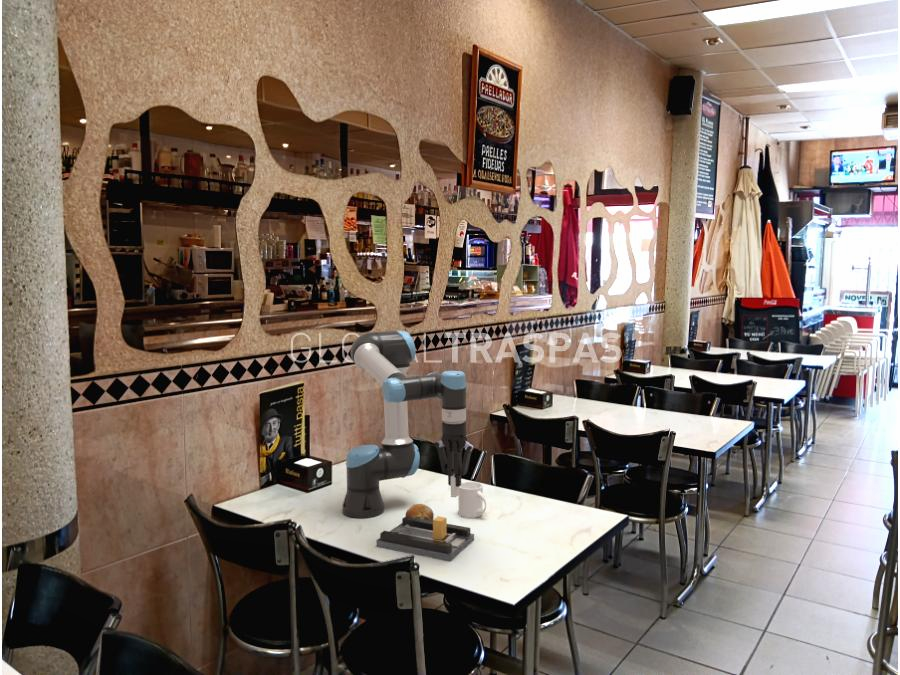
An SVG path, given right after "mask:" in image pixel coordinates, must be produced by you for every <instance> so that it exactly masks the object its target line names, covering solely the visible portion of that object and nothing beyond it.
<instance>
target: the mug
mask: <svg viewBox="0 0 900 675" xmlns="http://www.w3.org/2000/svg"><path fill="white" fill-rule="evenodd" d="M483 492H484V490H483V483H481V482H477V481H463V482H461V486H459V495H458V514H459V516H460V517H462V518H465V519H476V517H477V518H480V517H481V516H482V515H483V514H484V513H485V512H486V510H487V509H486V508H487V500H486V497H485V495H484V494H483ZM483 504H484V508H483Z"/></svg>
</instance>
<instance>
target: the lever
mask: <svg viewBox="0 0 900 675" xmlns="http://www.w3.org/2000/svg"><path fill="white" fill-rule="evenodd" d="M447 520H448V519H447V517H444V516H437V517H435V518H434V519H433V539H436V540H441V541H444V540H445V539H446V538H447V524H448V523H447Z"/></svg>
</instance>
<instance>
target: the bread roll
mask: <svg viewBox="0 0 900 675" xmlns="http://www.w3.org/2000/svg"><path fill="white" fill-rule="evenodd" d="M405 516H407V517H413V518H418V519H424V520H429V521H433V520H434V519H435V518H434V516H435V514H434V511H433V510H432V508H431V507H430V506H428V505H426V504H424V503H413V505H412V506H410V507H409V508H408V509H406V512H405Z"/></svg>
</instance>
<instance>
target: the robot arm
mask: <svg viewBox="0 0 900 675" xmlns="http://www.w3.org/2000/svg"><path fill="white" fill-rule="evenodd" d="M414 342H415V341H414V339H413V337H412V336H411V334H410V333H409V332H408V331H405V330H391V331H374V332H373V331H371V332H370V331H369V332H366V333H363V334H360V335H359V336H358V337H356V339H355V340H354V341H353V343H352V345H351V347H350V356H351V357H350V358H351V360H352V362H353V363H354V364H355V365H356V366H357V367H358V368H359V369H362V370H365V371H366V372H367V373H368V374H370V375H371V377H372V378H373V379H375V381H377V382H378V383H379V384H380V386H382V388H381V389H382V390H381V391H382V396H383V408H384V411H383V413H384V415H383V416H384V435H385V436H384V438H383V440H382V441H381V447H379V445H376V444H362V445H358V446H355V447H353V448H351V449H350V450H348V451H347V453H346V462H345V465H346V493H345V496H344V500H343V502H342V509H341V510H342V514H343V515H345V516H346V517H348V518H349V517H350V518H355V519H366V518H367V519H368V518H373V517H376V516H380V515H382V514H383V513H384V512H385V501H384V500H383V496H382V493H381V490H380V482H381V481H387V480H393V479H399V478H402V479H403V478H406V477H412V476H414V475H415V474H416V473H417V471H418V469H419V466H420V458H421V457H420V451H419V448H418V447H419V446H417V445H416V444H415V443H414V440H413V439H412V438H411V437H410V436H409V412H408V402H413V401H419V400H420V401H421V400H431V399H439V400H441V421H442V422H441V434H442V435H441V437H440V440H438V441H436V442H434V446H435V448H436V450H437V454H438V459H439V462H440V467H441V472H442V473H443V474H446V476H447V481H448V482H447V484H448V486H449V487H450V497H451V498H457V497H459V486H461V483H462V476H465V475H466V474H467V473H468V469H469V465H470V462H471V461H470V459H471V456H472V452H473V450H474V448H475V444H471V443H470V442H468V437H467V422H466V420H467V380H466V374H465V372H464V371H461V370H445V371H443V372H442V373H439V372H430V373H428V374H426V375H425V374H424V375H416V376H415V375H413V376H412V375H411V376H407V371H408V370H409V369H410V368H411V362H414V360H415V358H416V352H417V351H416V345H415V343H414ZM463 449H464V450H465V451H464V455H463ZM462 455H463V458H462Z"/></svg>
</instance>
